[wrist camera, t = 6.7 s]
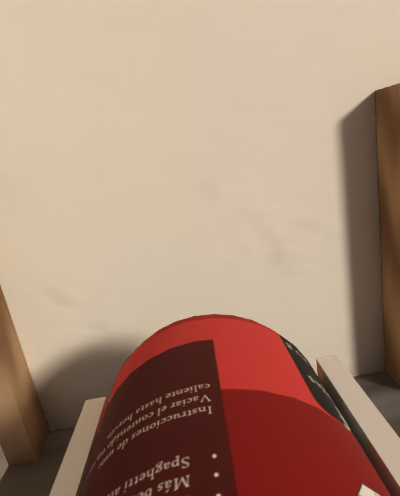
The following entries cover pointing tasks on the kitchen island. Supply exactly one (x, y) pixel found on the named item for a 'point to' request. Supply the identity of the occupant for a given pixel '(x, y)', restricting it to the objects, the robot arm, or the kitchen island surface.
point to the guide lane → (374, 385)
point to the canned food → (224, 420)
